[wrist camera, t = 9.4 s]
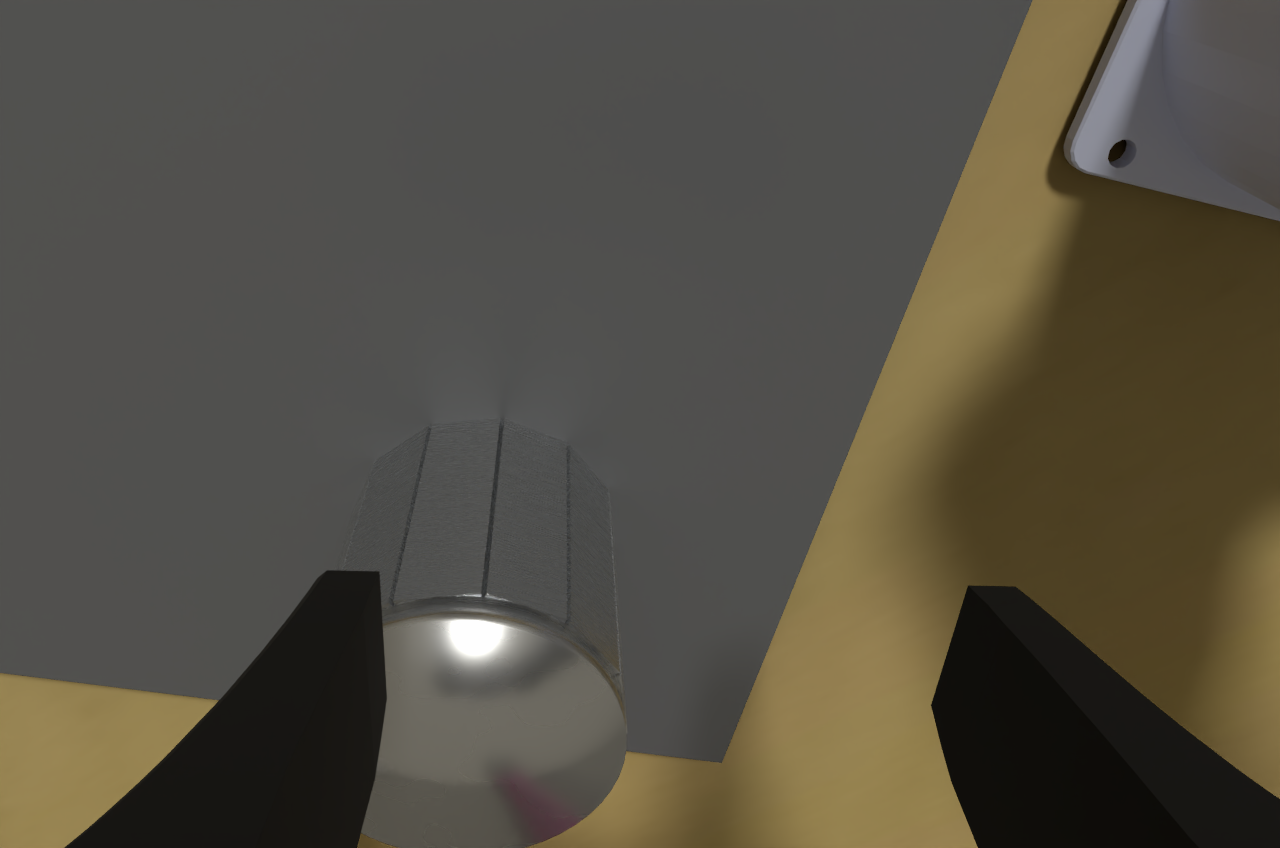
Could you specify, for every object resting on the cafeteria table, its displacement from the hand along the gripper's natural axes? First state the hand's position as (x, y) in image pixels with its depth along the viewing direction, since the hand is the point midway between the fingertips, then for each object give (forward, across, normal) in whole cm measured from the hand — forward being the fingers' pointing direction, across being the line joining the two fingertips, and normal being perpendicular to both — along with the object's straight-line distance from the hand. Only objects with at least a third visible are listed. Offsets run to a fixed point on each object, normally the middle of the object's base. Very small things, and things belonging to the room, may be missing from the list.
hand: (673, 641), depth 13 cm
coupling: (+8, +3, +5) cm, 10 cm away
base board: (+9, +5, 0) cm, 11 cm away
